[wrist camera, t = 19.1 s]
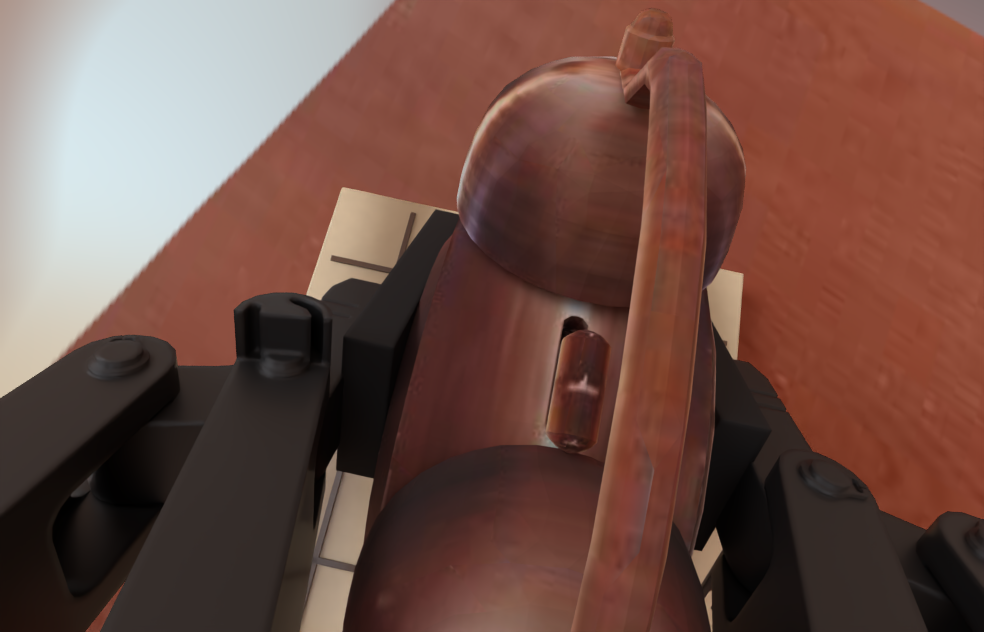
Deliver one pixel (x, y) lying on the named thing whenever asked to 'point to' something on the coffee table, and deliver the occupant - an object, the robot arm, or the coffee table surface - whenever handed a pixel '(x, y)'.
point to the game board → (370, 257)
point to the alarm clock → (563, 363)
